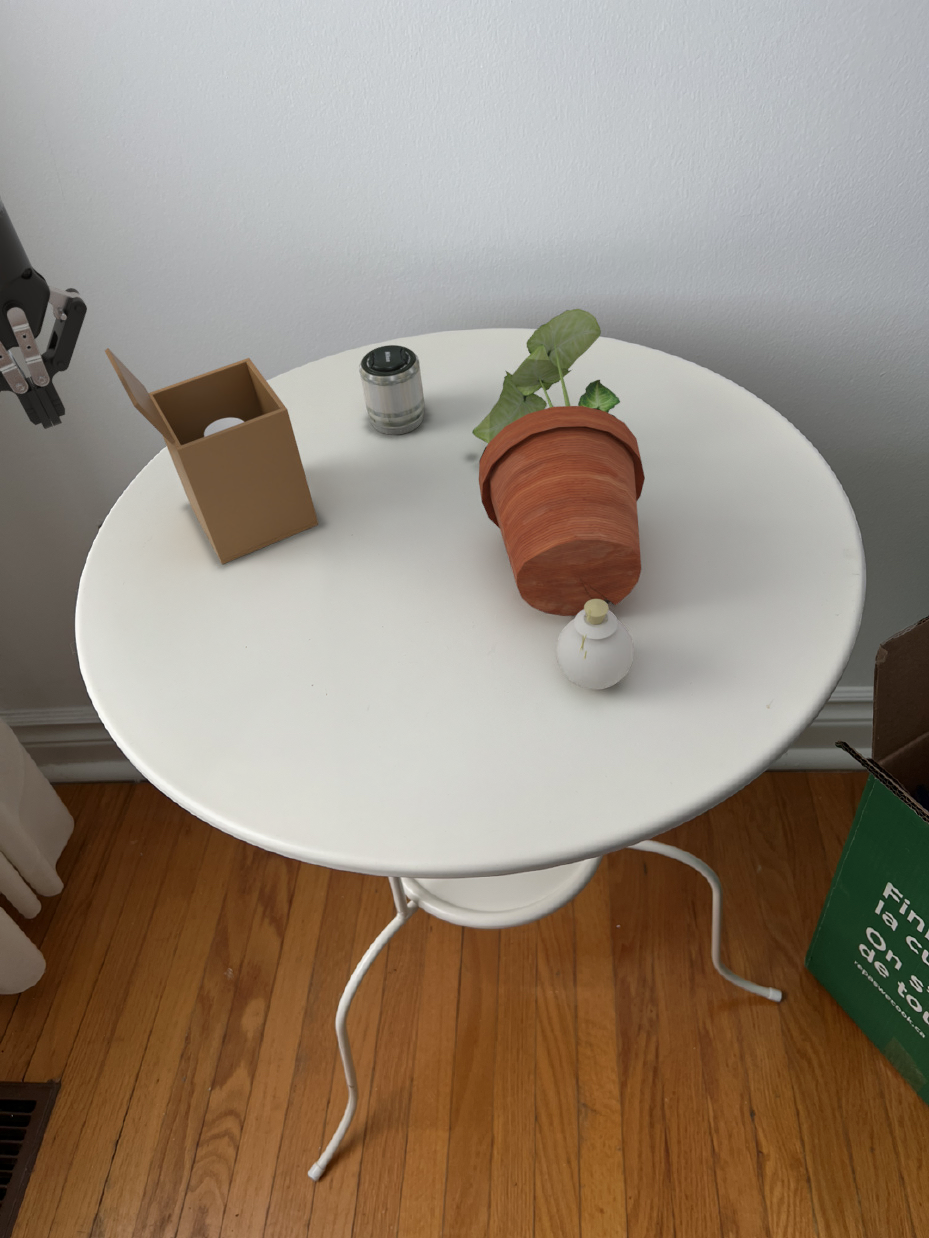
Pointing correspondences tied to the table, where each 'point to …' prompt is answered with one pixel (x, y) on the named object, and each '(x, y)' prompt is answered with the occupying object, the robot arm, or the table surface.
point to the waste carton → (237, 459)
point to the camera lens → (392, 389)
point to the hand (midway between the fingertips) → (51, 421)
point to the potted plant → (562, 478)
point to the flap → (139, 396)
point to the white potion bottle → (595, 647)
